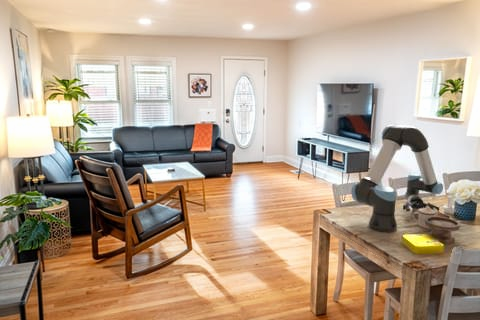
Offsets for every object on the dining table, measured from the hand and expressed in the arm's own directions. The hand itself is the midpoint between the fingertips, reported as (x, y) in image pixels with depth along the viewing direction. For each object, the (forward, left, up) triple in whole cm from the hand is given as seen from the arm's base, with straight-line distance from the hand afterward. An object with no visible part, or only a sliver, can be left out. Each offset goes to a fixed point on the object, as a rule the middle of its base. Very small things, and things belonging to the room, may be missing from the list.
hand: (424, 212), depth 219 cm
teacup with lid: (-1, -3, -7) cm, 8 cm away
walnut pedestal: (+2, -21, -7) cm, 22 cm away
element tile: (-12, -35, -7) cm, 37 cm away
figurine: (+23, +23, -7) cm, 33 cm away
